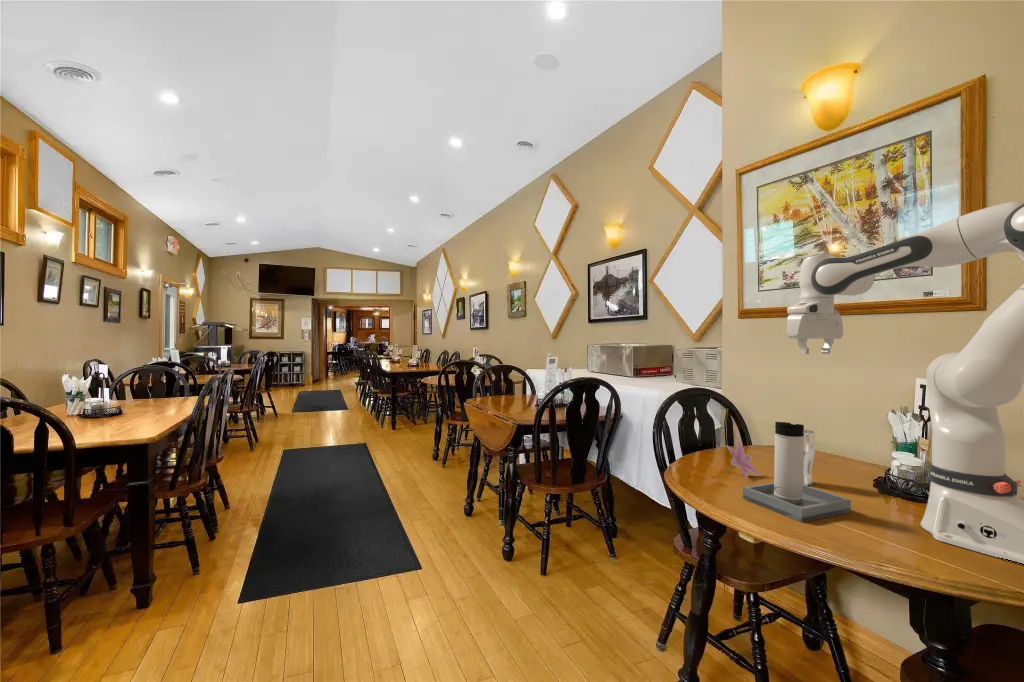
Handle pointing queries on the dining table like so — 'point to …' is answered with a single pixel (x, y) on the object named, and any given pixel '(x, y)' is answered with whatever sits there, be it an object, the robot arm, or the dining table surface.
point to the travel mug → (789, 462)
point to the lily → (742, 460)
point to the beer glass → (808, 456)
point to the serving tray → (810, 509)
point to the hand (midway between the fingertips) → (815, 353)
